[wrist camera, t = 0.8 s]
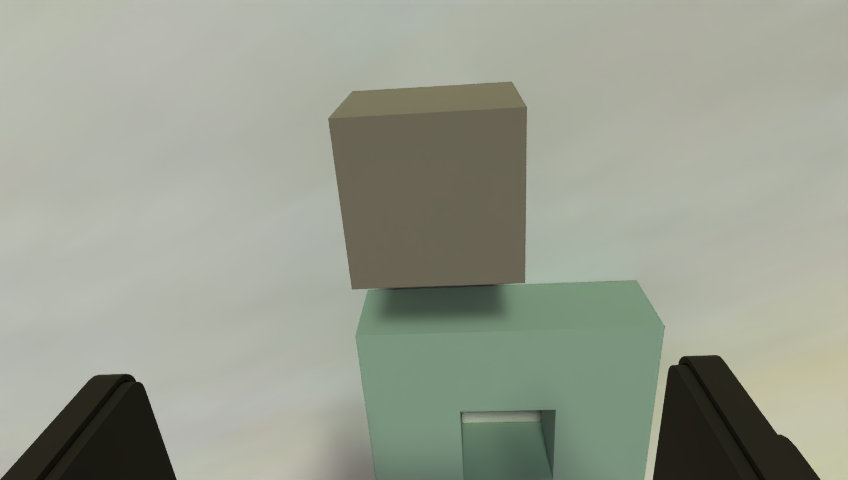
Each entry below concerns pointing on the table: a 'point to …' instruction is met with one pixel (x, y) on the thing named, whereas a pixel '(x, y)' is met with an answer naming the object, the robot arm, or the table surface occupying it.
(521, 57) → the table surface
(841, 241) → the table surface
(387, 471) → the socket
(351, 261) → the plug
